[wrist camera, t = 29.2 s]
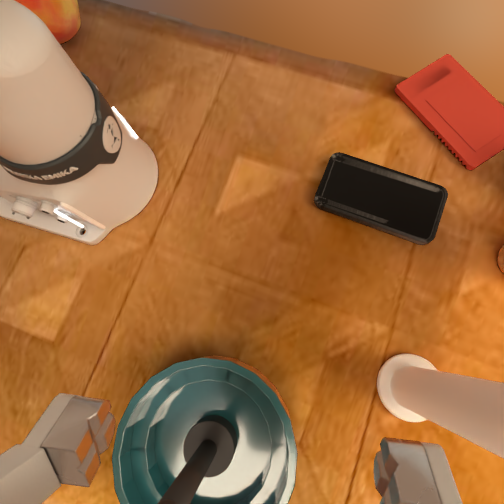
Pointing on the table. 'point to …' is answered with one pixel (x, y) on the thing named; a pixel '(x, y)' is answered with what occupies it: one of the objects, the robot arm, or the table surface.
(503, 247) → the ice cream cone
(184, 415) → the bowl
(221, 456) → the dark post on base
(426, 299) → the table surface
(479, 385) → the candle
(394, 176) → the phone
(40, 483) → the robot arm
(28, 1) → the apple
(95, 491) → the table surface
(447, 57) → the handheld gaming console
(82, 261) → the table surface
